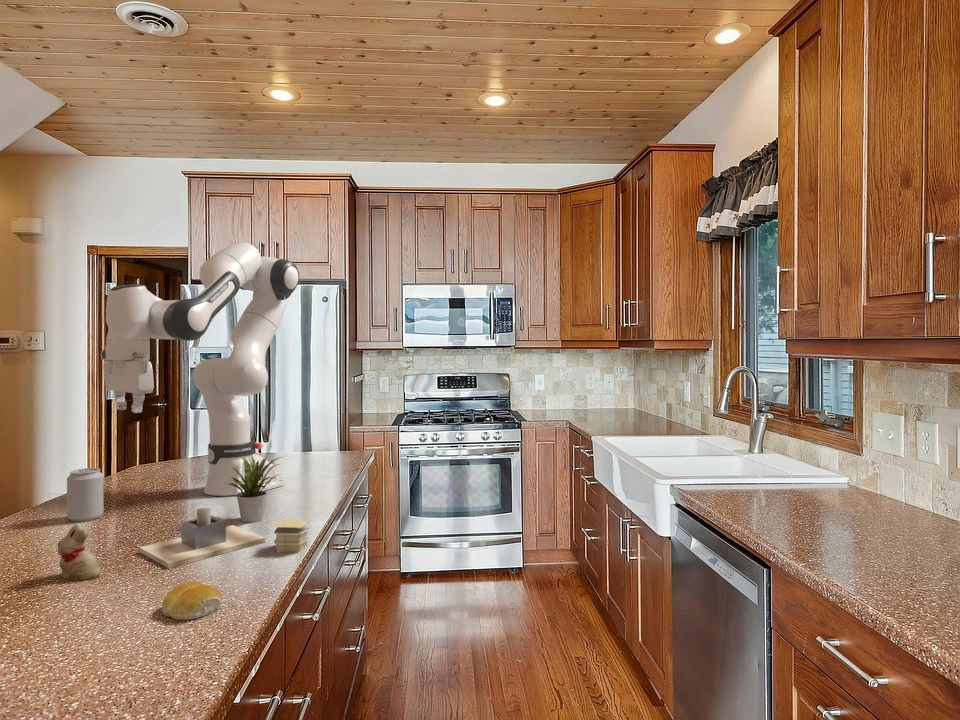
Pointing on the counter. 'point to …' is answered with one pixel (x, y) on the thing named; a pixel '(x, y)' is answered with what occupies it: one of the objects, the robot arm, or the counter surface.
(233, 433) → the robot arm
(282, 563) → the counter surface
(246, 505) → the house plant
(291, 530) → the stacked food containers
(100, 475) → the can
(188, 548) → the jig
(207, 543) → the hollow square tube
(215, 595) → the bread roll
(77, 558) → the chocolate bunny
